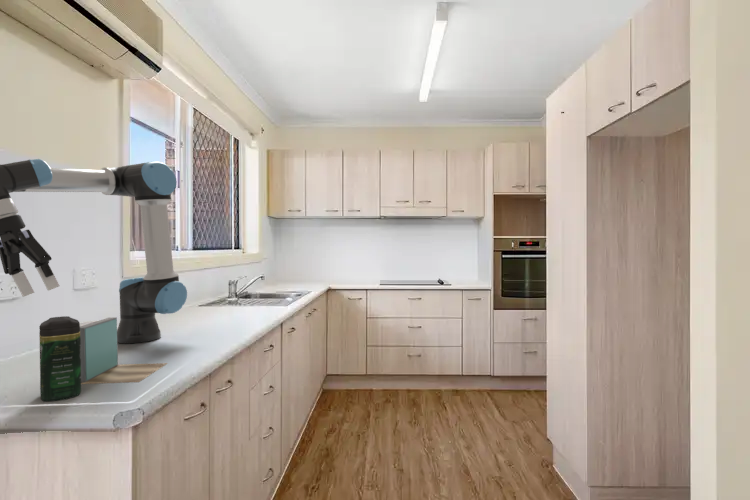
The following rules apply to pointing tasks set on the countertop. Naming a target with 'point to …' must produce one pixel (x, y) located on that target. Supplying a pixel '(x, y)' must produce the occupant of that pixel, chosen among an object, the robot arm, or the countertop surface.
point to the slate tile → (98, 348)
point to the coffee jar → (60, 358)
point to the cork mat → (126, 373)
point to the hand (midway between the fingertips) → (41, 291)
